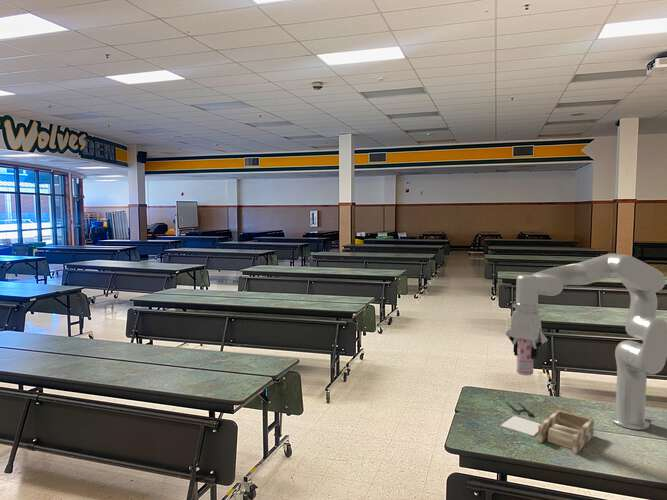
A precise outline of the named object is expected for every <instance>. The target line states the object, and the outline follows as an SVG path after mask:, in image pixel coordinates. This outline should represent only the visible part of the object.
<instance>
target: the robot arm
mask: <svg viewBox="0 0 667 500" xmlns="http://www.w3.org/2000/svg"><path fill="white" fill-rule="evenodd" d="M615 277H616V278H619V280H620V282H621V283H622V285H623V286H624V287H625V288H626V289H627V291H628V293H629V296H630V304H629V308H628V312H627V317H626V323H625V332H626V333H627V335H629V336H630V337H632V338H634V339H636V340H640V341H642V343H640V342H637V341H635V340H629V339H627V340H623V341H621V342H619V343H618V344H617V345H616V347H615V351H614V357H615V363H616V389H615V390H616V391H615V411H614V412H615V413H613V414H611V415H610V420H611V422H612V423H614V424H615V425H617V426H619V427H623V428H626V429H630V430H638V431H639V430H640V431H644V430H647V429H649V428H650V422H649V421H647V420H646V418H645V417H646V402H647V401H646V399H647V374H648V375H656V374H659V373H660V372H661V371H662V370H663V369H664V366H665V364H666V361H667V321H666V320H664V319H662V318H658V317H657V316H656V315H657V310H658V297H657V294H656V293H657V292H659V291H662V289H663V288H664V287H665V285H666V278H665V275H664V273H663V272H662V271H660V269H657V268H656V267H653V266H651V265H650V264H648V263H646V262H645V261H642V260H640V259H638V258H636V257H634V256H632V255H628V254H621V253H606V254H604V255H600V256H596V257H593V258H590V259H587V260H583V261H580V262H577V263H576V262H575V263H569V264H566V265H559V266H556V267H555V266H554V267H551V268H547V269H544V270H541V271H537V272H535V273H533V274H519V275H518V276H517V277H516V284H515V285H516V286H515V287H516V289H515V290H516V292H515V303H512V305H511V307H512V308H514V310H513V312H512V315H511V316H512V317H511V321H510V327H509V329H508V330H507V331H506V332H505V335H506V337H507V338H508V339H509V340H510V342H511V343H512V345H513V353H514V354H513V355H514V356H515V357H517V343H518V339H521V338H522V337H524V339H526V340H529V341H531V342H532V345H533V348H532V351H531V358H532V359H533V360H535V359H536V358H538V355H539V354H538V353H539V352H538V351H539V347H541V346H542V345H543V344H545V343H546V342H547V341H548V338H547V337H546V336H545V334H544V333H543V332H542V322H541V321H542V319H541V315H540V312H538V311H539V308H538V307H539V295H540V296H547V297H549V296H550V297H553V296H558V295H560V293H562V291H563V289H564V286H584V285H585V286H587V285H591V284H592V283H596V282H599V281H602V280H607V279H609V278H615ZM538 340H539V341H538Z"/></svg>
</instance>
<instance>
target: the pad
mask: <svg viewBox="0 0 667 500" xmlns="http://www.w3.org/2000/svg"><path fill="white" fill-rule="evenodd" d="M540 424H541V422H540V423H539V422H536V421H532V420H529V419H525V418H523V417H522V418H521V417H518V416H515V415H513V416H512V417H511V418H508V420H505V422H503V423H502V424H500V427H501V428H505V429H507V430H510V431H513V432H517V433H520V434H523V435H525V436H526V435H527V436H529V437H532V438H533V437H535V436H537V435H538V425H540Z"/></svg>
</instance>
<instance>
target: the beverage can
mask: <svg viewBox="0 0 667 500" xmlns="http://www.w3.org/2000/svg"><path fill="white" fill-rule="evenodd" d="M532 348H533V345H532V342H531V341H529V340H526V339H524V337H522V338H521V339H518V343H517V356H516V373H517V374H518V375H521V376H525V377H526V376H532V375H533V374H534V359H532V358H531V351H532Z"/></svg>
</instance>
